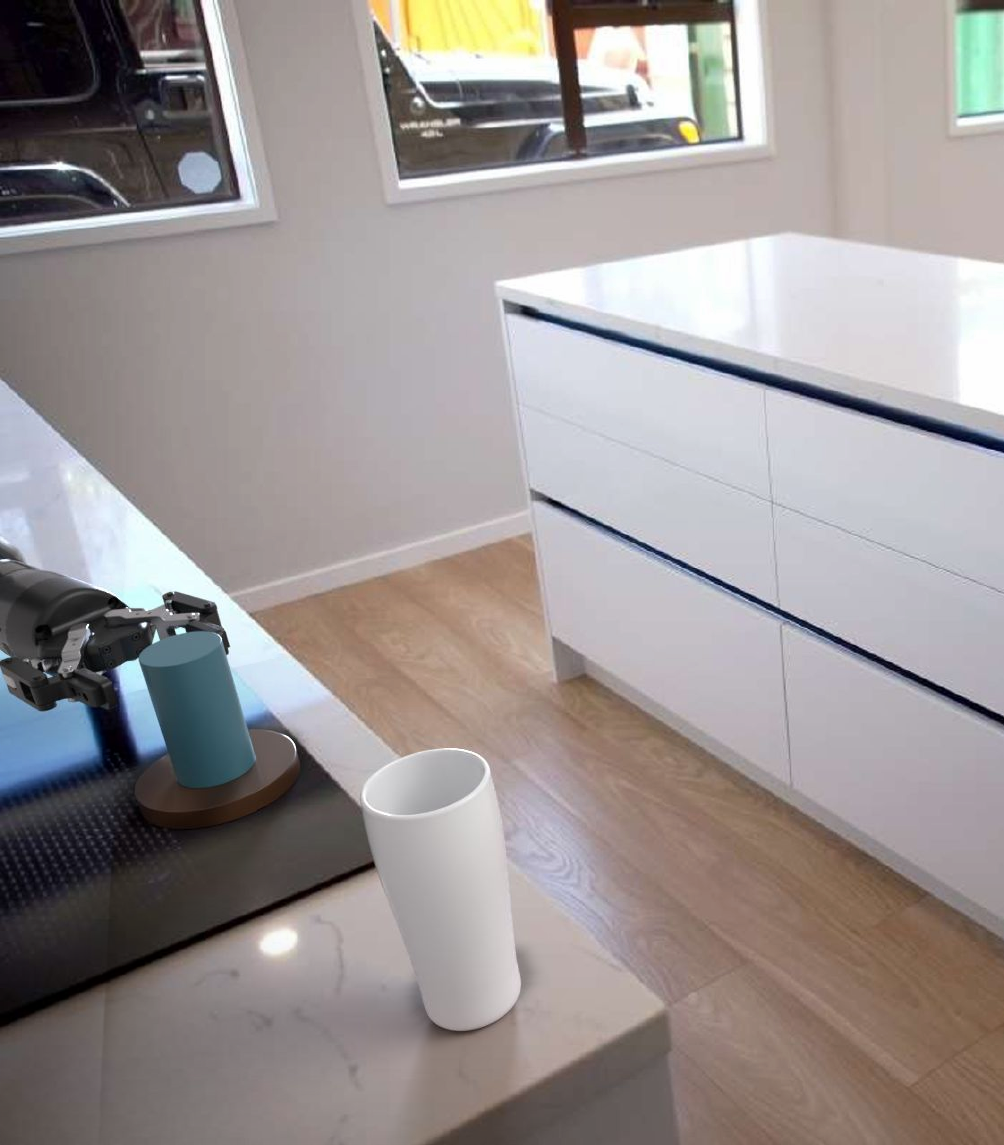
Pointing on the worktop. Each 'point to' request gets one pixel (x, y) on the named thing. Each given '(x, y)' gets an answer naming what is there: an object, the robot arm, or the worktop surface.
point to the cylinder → (198, 708)
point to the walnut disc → (219, 787)
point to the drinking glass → (446, 881)
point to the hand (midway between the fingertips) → (168, 669)
